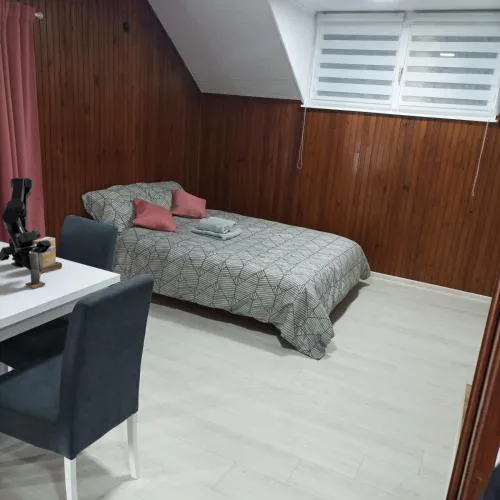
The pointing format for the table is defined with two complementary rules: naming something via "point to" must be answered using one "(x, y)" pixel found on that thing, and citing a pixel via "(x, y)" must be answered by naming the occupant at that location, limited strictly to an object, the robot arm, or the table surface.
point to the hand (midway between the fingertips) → (34, 268)
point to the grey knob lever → (39, 270)
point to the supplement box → (47, 253)
